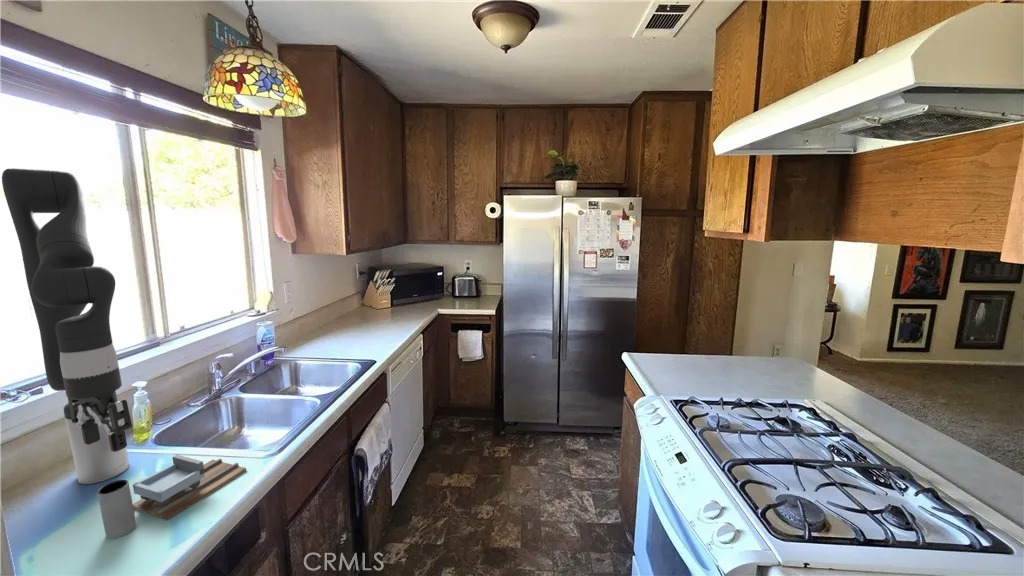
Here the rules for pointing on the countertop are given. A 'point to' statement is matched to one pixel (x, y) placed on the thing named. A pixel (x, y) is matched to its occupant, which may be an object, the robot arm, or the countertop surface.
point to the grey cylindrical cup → (116, 508)
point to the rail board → (193, 490)
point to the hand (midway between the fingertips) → (105, 445)
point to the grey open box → (171, 480)
